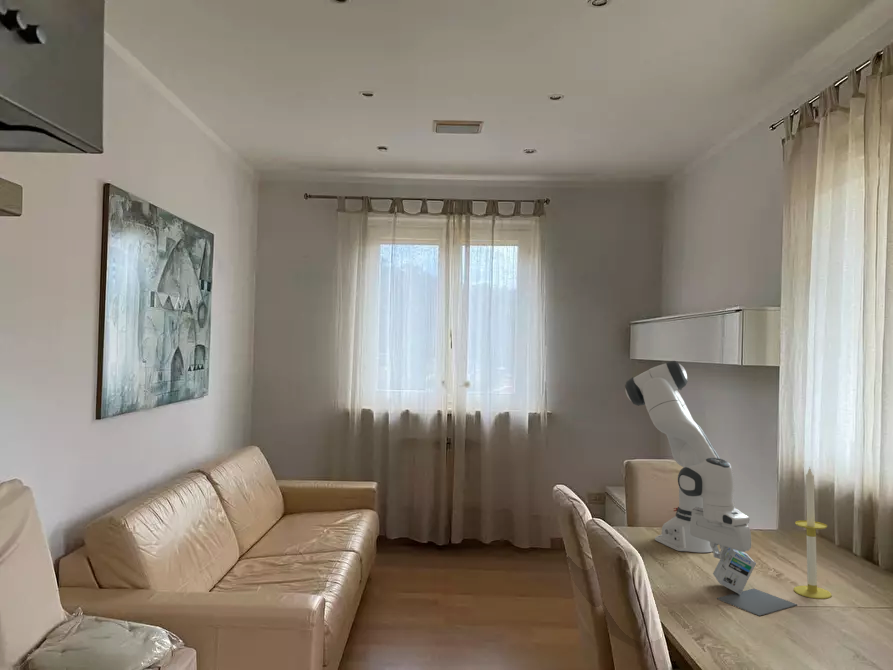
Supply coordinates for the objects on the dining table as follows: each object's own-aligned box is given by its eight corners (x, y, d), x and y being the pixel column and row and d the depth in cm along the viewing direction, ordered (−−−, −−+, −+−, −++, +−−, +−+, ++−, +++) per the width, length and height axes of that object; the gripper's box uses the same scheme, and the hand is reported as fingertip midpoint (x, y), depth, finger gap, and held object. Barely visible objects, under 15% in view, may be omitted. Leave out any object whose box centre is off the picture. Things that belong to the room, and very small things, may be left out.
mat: (717, 599, 189) (717, 597, 189) (753, 589, 196) (753, 588, 196) (759, 616, 176) (759, 615, 176) (797, 605, 184) (797, 604, 184)
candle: (836, 600, 187) (833, 470, 188) (797, 596, 190) (794, 468, 191) (826, 588, 196) (824, 464, 197) (790, 585, 199) (787, 463, 200)
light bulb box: (740, 595, 190) (757, 563, 190) (718, 584, 191) (735, 551, 191) (732, 584, 200) (748, 553, 200) (711, 573, 202) (727, 542, 201)
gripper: (684, 506, 205) (685, 550, 205) (739, 521, 187) (740, 569, 187) (699, 504, 208) (699, 547, 208) (754, 519, 190) (755, 566, 189)
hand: (719, 558), depth 197 cm, fingers closed
